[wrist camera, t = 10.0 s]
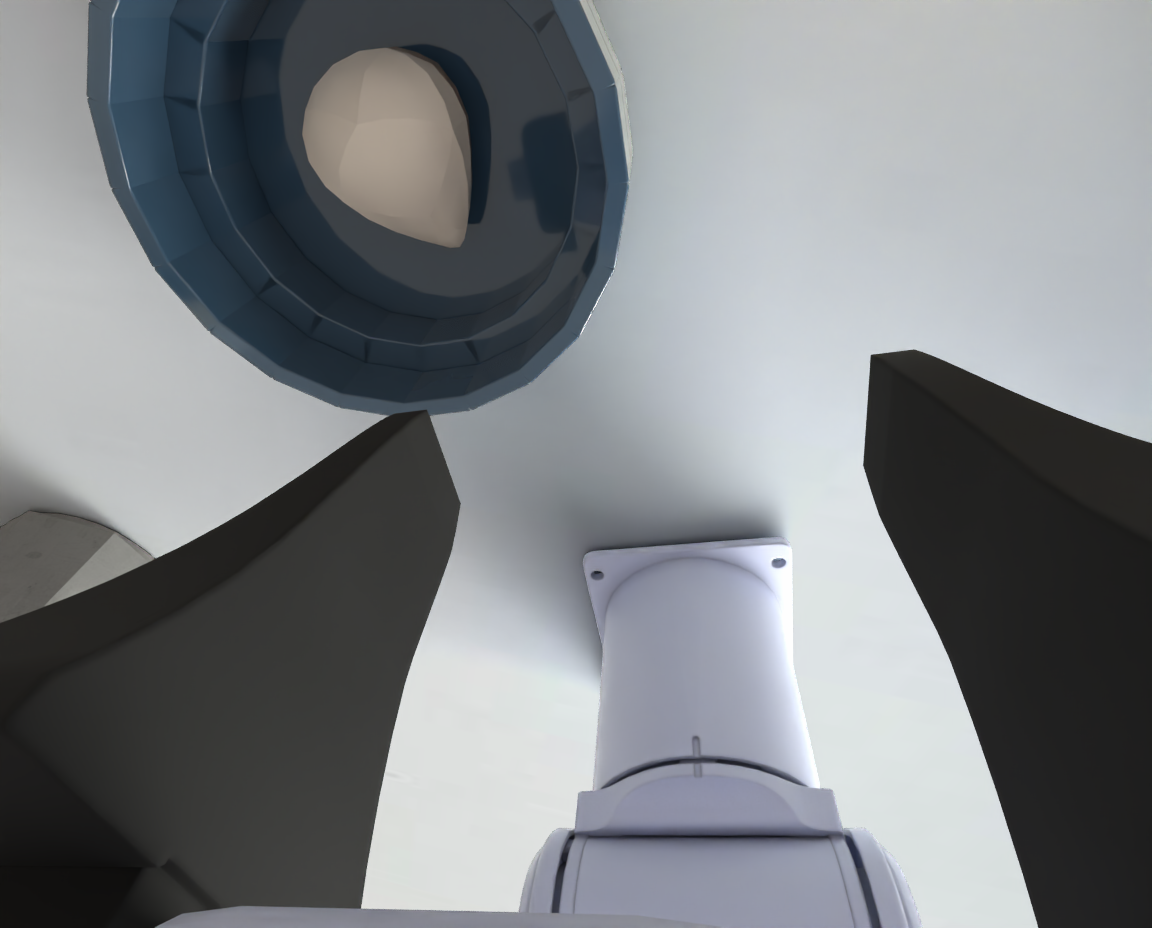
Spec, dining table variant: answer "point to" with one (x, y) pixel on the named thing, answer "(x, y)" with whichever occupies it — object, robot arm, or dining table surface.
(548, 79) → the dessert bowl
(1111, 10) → the dining table surface
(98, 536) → the coffeepot
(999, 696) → the robot arm
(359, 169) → the beige pebble
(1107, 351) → the dining table surface
